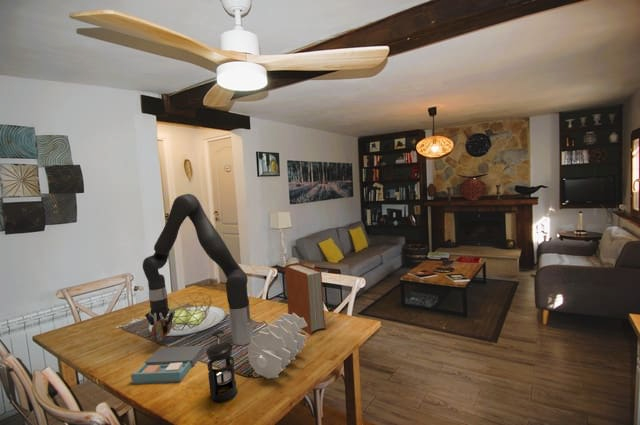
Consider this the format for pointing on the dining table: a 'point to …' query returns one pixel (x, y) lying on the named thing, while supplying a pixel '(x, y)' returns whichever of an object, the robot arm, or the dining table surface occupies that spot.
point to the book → (305, 295)
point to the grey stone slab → (176, 355)
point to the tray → (160, 375)
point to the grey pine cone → (276, 345)
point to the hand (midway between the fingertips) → (162, 332)
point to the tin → (159, 330)
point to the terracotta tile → (152, 368)
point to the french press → (221, 371)
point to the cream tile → (174, 367)
